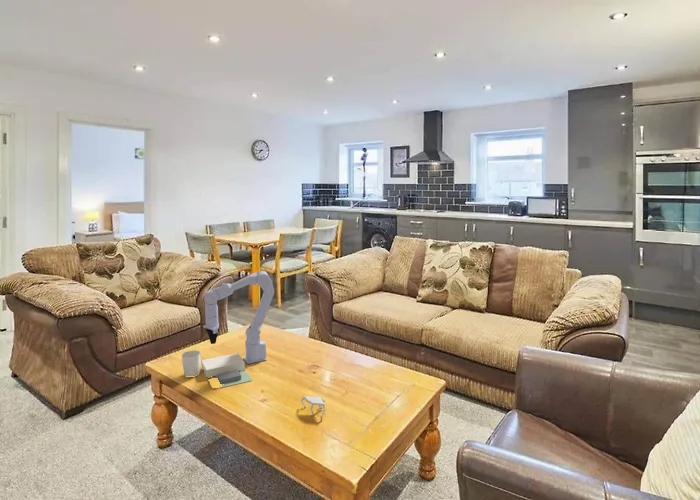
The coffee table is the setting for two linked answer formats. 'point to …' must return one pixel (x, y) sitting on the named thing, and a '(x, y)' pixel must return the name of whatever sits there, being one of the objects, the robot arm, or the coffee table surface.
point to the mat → (244, 378)
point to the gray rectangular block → (229, 377)
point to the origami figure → (315, 402)
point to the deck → (223, 364)
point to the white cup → (191, 363)
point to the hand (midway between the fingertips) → (213, 343)
